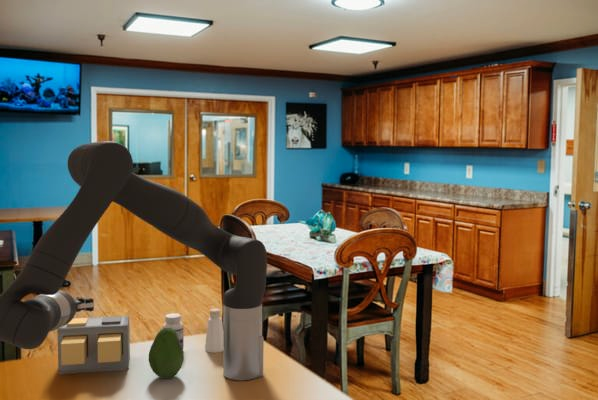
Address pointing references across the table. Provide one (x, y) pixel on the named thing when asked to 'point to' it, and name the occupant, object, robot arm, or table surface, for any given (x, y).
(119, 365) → the console
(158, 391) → the table surface
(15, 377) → the table surface
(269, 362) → the table surface
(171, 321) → the pill bottle
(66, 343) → the button
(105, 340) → the button
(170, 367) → the fruit
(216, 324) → the pepper shaker
